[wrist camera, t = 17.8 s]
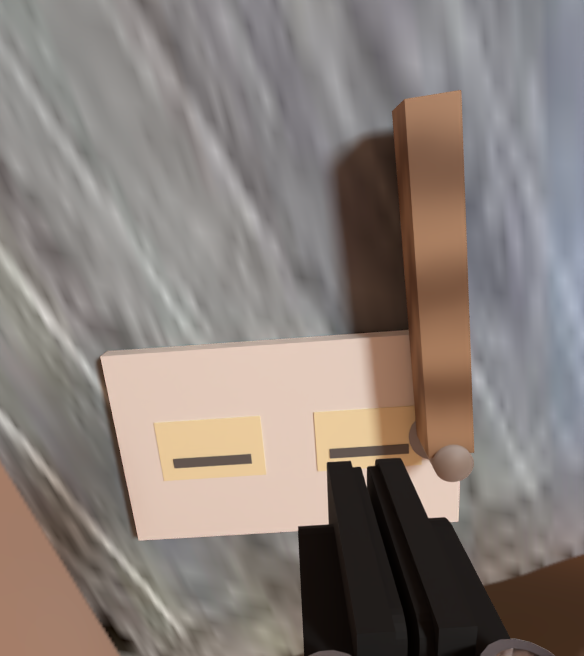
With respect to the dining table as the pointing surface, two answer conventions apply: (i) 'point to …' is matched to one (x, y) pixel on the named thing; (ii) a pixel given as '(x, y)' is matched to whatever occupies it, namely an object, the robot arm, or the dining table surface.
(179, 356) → the label plate
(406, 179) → the bar
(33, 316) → the dining table surface
